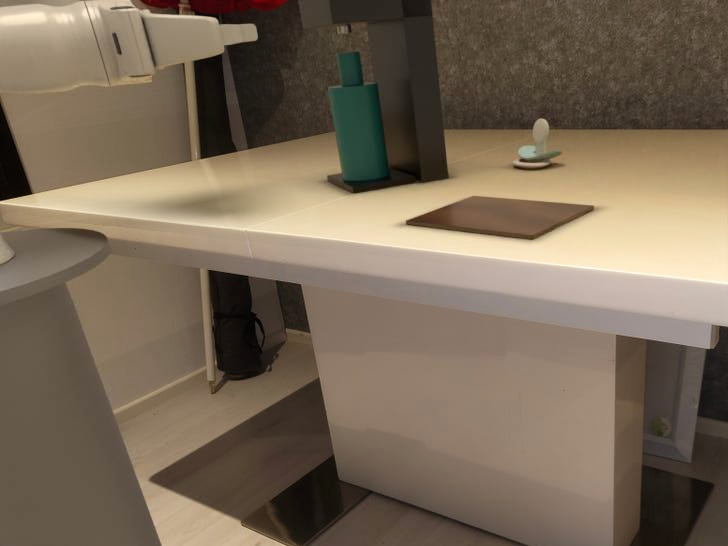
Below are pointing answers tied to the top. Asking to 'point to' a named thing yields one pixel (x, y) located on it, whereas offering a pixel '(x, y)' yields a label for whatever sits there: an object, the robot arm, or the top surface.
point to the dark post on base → (395, 83)
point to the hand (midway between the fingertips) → (247, 32)
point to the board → (502, 216)
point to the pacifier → (537, 148)
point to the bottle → (358, 122)
